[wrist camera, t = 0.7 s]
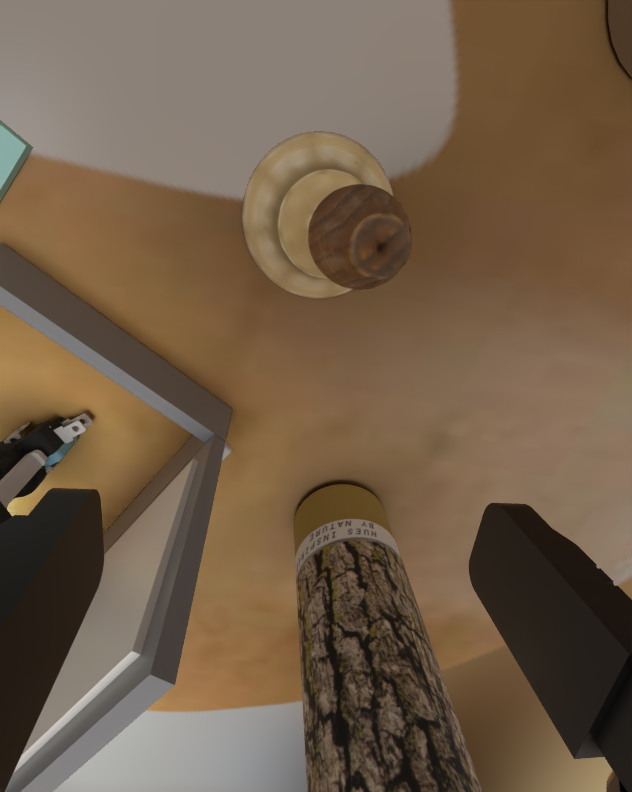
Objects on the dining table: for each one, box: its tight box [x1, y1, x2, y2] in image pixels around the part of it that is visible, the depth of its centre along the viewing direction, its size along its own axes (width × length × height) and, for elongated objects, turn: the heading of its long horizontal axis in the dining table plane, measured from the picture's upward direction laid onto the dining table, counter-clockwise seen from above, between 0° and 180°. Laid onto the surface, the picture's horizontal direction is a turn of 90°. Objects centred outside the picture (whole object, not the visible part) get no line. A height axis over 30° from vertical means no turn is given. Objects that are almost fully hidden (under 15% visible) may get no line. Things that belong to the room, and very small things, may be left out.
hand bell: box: [242, 131, 411, 298], centre depth 16 cm, size 8×8×16 cm
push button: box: [0, 413, 93, 524], centre depth 22 cm, size 7×5×10 cm
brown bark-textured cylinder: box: [294, 484, 483, 792], centre depth 20 cm, size 7×7×25 cm
